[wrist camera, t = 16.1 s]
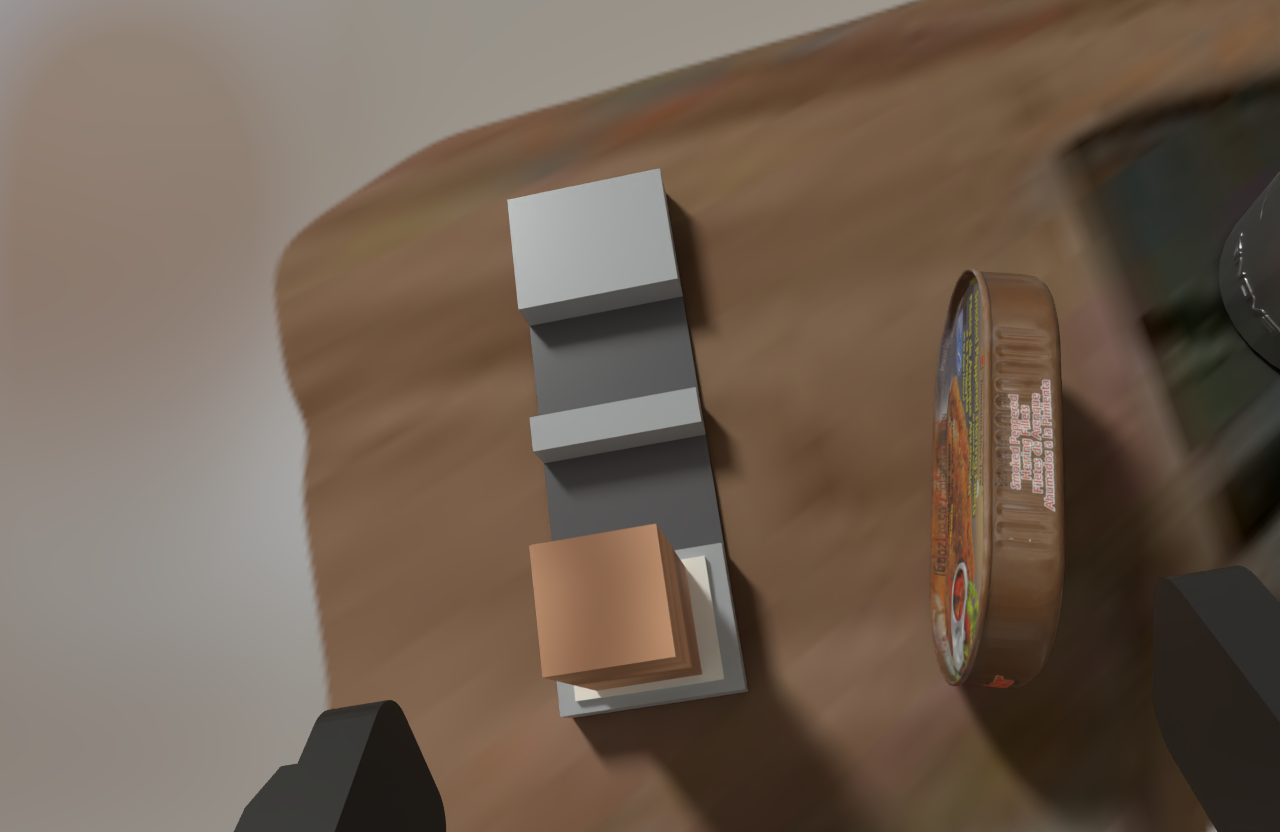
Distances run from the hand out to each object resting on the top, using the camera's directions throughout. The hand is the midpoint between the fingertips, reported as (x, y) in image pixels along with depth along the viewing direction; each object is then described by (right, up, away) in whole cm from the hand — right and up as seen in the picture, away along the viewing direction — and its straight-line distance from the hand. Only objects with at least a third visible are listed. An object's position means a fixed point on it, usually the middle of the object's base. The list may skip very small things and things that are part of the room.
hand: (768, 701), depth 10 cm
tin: (+12, 0, +29) cm, 31 cm away
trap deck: (-2, +2, +31) cm, 32 cm away
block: (-1, -5, +26) cm, 27 cm away
